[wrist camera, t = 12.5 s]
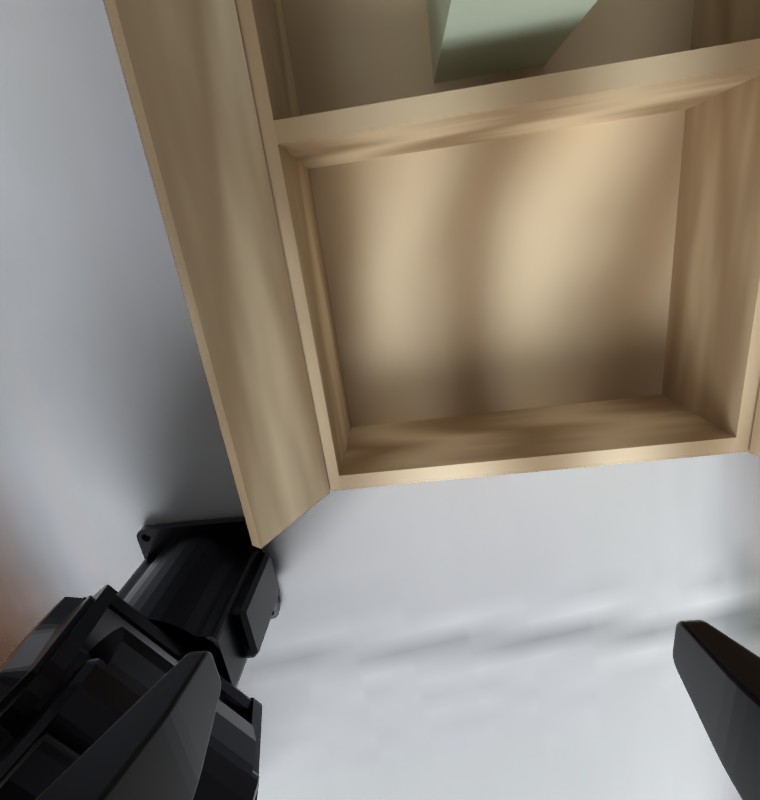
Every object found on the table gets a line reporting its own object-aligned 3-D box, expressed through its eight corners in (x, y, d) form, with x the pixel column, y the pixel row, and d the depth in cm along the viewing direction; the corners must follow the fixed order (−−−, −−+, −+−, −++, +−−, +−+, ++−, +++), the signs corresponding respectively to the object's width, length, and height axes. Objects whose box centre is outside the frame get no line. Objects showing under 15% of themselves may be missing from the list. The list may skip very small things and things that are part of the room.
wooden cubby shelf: (303, 440, 22) (250, 549, 14) (160, -250, 14) (-143, -869, 6) (714, 397, 20) (909, 494, 12) (815, -412, 12) (1530, -1540, 4)
